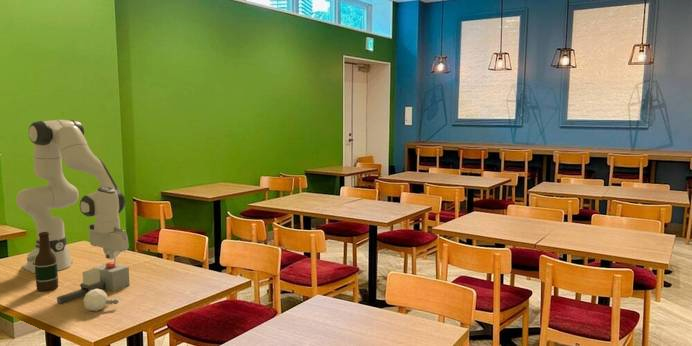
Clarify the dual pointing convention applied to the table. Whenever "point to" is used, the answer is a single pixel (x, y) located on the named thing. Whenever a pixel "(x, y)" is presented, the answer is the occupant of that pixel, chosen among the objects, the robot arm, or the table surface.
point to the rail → (73, 295)
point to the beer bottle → (45, 266)
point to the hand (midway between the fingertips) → (109, 258)
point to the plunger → (110, 265)
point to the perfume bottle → (97, 300)
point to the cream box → (91, 280)
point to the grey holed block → (114, 276)
